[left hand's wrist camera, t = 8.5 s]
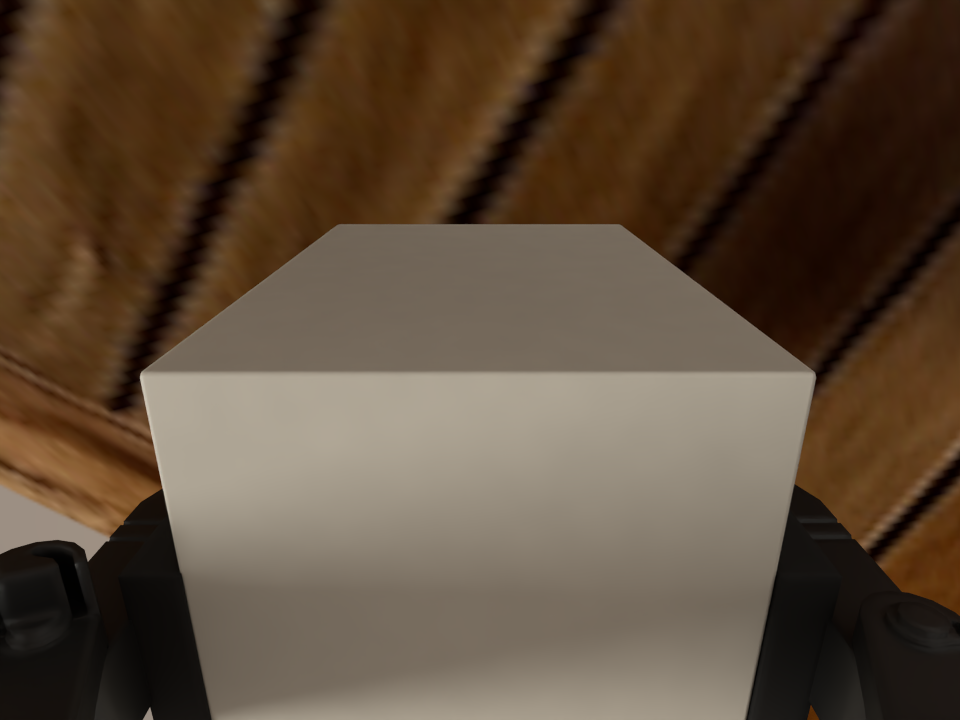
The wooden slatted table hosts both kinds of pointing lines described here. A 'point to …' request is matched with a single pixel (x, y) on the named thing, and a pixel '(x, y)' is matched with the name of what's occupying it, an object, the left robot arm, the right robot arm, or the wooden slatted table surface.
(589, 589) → the brick
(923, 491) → the wooden slatted table surface
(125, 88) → the wooden slatted table surface
